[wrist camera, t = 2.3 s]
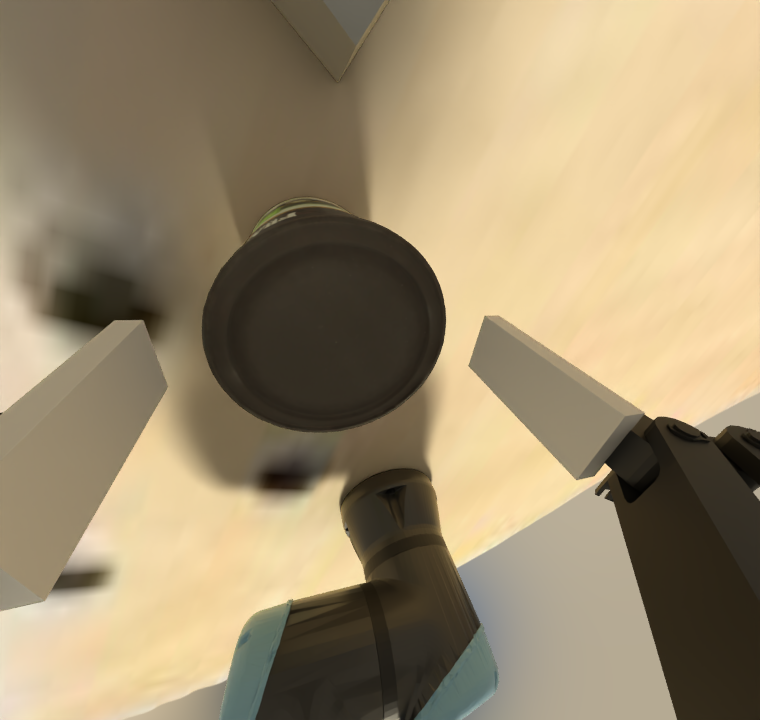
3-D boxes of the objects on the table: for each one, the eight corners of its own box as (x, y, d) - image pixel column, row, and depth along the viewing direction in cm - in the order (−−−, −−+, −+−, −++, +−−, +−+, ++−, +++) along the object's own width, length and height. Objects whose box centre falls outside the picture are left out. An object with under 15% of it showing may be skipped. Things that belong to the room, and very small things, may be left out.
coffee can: (223, 283, 22) (155, 390, 11) (290, 162, 19) (291, 134, 8) (331, 341, 28) (361, 455, 16) (396, 253, 25) (488, 314, 13)
